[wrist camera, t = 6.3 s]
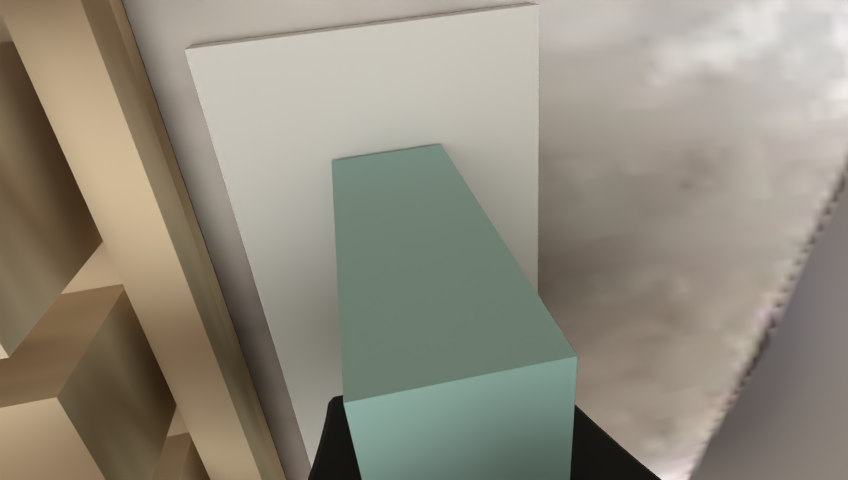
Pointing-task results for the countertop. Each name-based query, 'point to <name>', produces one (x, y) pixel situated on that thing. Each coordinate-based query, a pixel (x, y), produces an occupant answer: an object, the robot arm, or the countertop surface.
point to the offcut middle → (84, 394)
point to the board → (442, 331)
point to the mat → (363, 152)
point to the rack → (143, 222)
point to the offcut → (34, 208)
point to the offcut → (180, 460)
